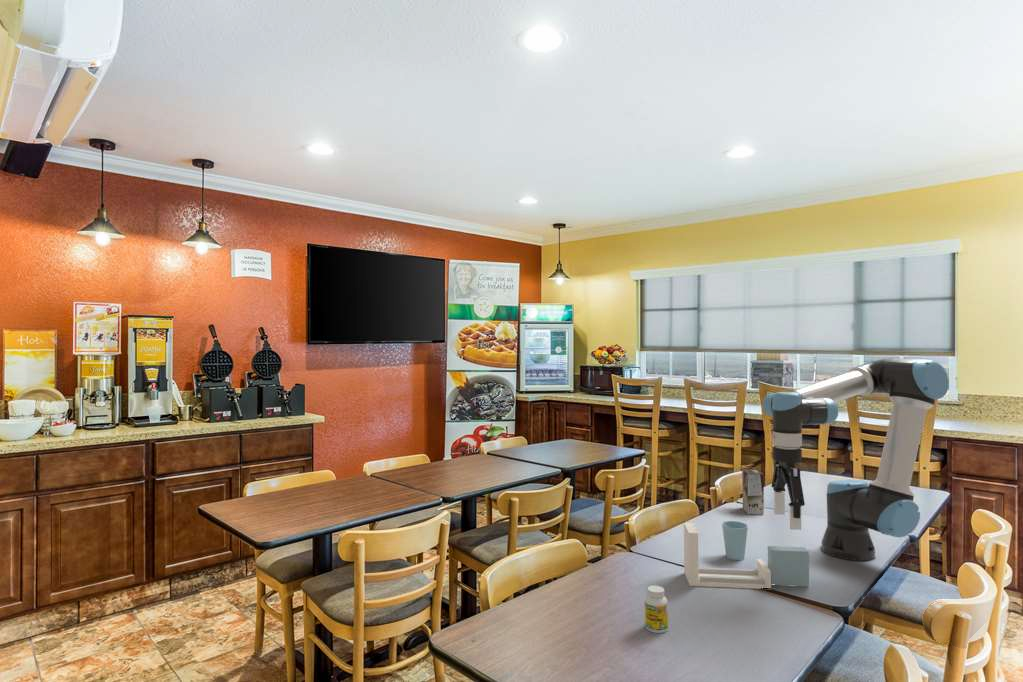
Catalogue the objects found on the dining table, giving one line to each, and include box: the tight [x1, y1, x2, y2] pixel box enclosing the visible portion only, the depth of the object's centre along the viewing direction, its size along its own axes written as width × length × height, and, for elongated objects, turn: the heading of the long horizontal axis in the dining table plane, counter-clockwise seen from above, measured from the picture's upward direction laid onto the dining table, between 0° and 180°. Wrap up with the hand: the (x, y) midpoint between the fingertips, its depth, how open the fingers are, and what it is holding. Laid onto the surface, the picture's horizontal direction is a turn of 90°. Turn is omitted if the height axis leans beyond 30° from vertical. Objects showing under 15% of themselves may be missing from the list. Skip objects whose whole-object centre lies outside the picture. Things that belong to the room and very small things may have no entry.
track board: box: [683, 522, 772, 590], centre depth 169 cm, size 22×9×15 cm, turn 82°
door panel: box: [767, 545, 810, 587], centre depth 167 cm, size 10×4×10 cm, turn 82°
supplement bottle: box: [644, 585, 669, 634], centre depth 142 cm, size 5×5×10 cm
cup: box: [721, 520, 749, 561], centre depth 187 cm, size 8×8×10 cm
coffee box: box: [741, 468, 765, 516], centre depth 235 cm, size 9×6×16 cm
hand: (787, 521), depth 167 cm, fingers open, 13 cm apart
